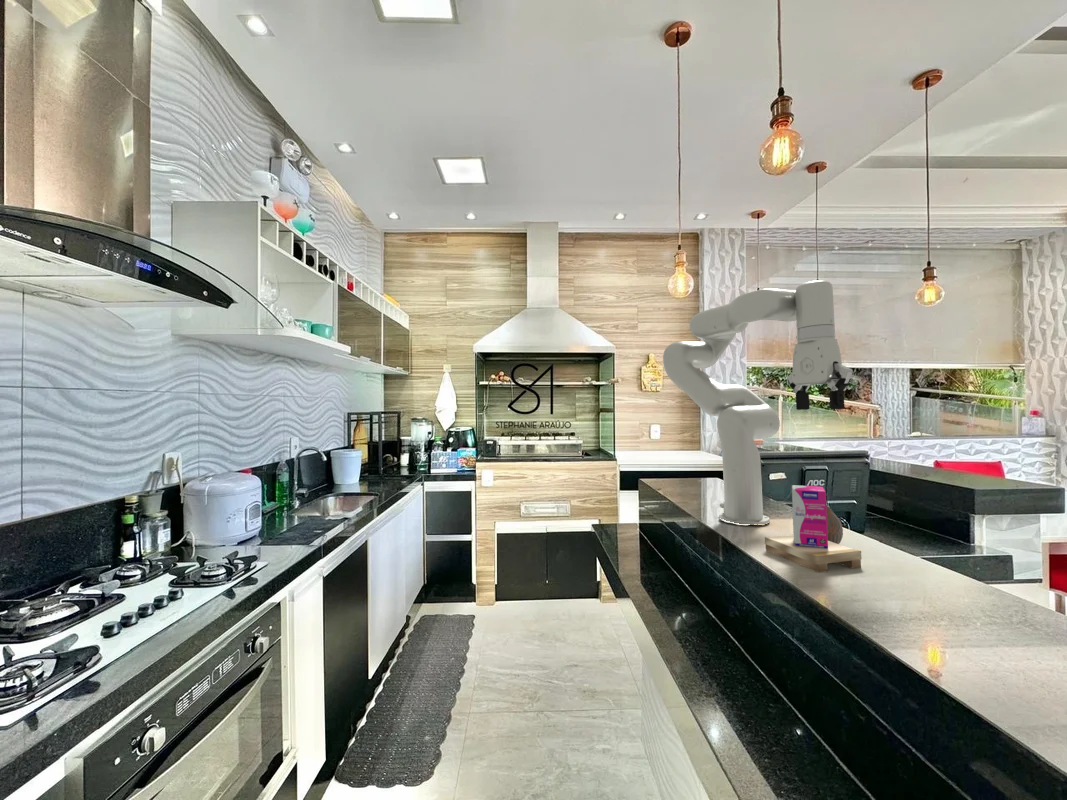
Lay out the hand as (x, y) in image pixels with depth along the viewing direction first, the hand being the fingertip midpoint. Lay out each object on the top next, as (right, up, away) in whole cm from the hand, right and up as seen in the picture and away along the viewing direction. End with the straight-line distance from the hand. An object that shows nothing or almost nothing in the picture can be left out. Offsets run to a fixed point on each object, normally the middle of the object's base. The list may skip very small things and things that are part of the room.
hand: (819, 409), depth 105 cm
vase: (-1, -31, -4) cm, 31 cm away
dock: (-9, -30, -12) cm, 34 cm away
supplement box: (-10, -28, -12) cm, 32 cm away
